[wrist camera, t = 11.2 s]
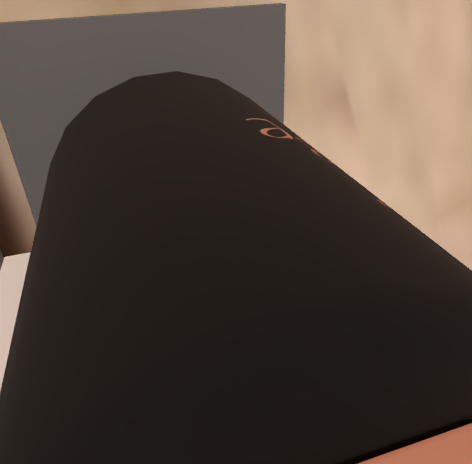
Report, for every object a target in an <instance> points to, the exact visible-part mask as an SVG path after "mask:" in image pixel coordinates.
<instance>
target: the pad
mask: <svg viewBox="0 0 472 464" xmlns="http://www.w3.org/2000/svg"><path fill="white" fill-rule="evenodd" d="M285 10H286V4H283V3H278V4H263V5H249V6H234V7H220V8H205V9H190V10H176V11H161V12H147V13H132V14H118V15H103V16H89V17H74V18H60V19H45V20H31V21H16V22H2V23H0V119H1V122H2V125H3V128H4V131H5V134H6V137H7V140H8V143H9V146H10V149H11V152H12V155H13V158H14V161H15V164H16V167H17V170H18V172H19V175H20V178H21V181H22V184H23V187H24V190H25V193H26V196H27V199H28V202H29V205H30V208H31V211H32V214H33V217H34V220H35V223H36V226H37V223H38V218H39V213H40V209H41V204H42V199H43V195H44V190H45V186H46V181H47V176H48V172H49V167H50V163H51V161H52V158H53V156H54V154H55V151H56V149H57V147H58V144H59V142H60V140H61V137H62V135H63V133H64V130H65V128H66V126H67V125H68V124H69V123H70V122H71V121H72V120H73V119H74V118H75V117H76V116H77V115H78V114H79V113H80V112H81V111H82V110H83V109H84V108H85V106H86V105H87V104H88V103H89V102H90V101H91V100H92V99H93V98H94V97H95V96H97V95H99V94H101V93H103V92H105V91H107V90H109V89H111V88H113V87H115V86H117V85H119V84H121V83H123V82H125V81H127V80H129V79H131V78H133V77H136V76H144V75H151V74H159V73H166V72H173V71H179V72H184V73H189V74H194V75H199V76H204V77H209V78H214V79H218V80H220V81H221V82H223V83H225V84H226V85H228V86H230V87H231V88H233V89H235V90H236V91H238V92H240V93H242V94H243V95H245V96H247V97H248V98H250V99H251V100H253V101H254V102H255V103H256V104H258V105H259V106H260V107H262V108H263V109H264V110H265V111H267V112H268V113H269V114H271V115H272V116H273V117H274V118H276V119H277V120H278V121H280V122H281V123H282V124H283V116H284V63H285Z"/></svg>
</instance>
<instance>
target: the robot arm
mask: <svg viewBox="0 0 472 464" xmlns="http://www.w3.org/2000/svg"><path fill="white" fill-rule="evenodd" d="M30 255H31V252H29V253H24V254H18V255H13V256H7V257H4V260H3V264H2V267H1V270H0V395H1V390H2V385H3V381H4V376H5V372H6V367H7V362H8V358H9V353H10V348H11V344H12V339H13V334H14V330H15V325H16V320H17V316H18V311H19V306H20V302H21V297H22V292H23V288H24V283H25V279H26V274H27V269H28V265H29V260H30Z"/></svg>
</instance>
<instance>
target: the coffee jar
mask: <svg viewBox="0 0 472 464" xmlns="http://www.w3.org/2000/svg"><path fill="white" fill-rule="evenodd" d="M0 464H472V271H471V270H470V269H469V268H467V267H466V266H465V265H464V264H462V263H461V262H460V261H458V260H457V259H456V258H455V257H453V256H452V255H451V254H449V253H448V252H447V251H446V250H444V249H443V248H442V247H440V246H439V245H438V244H437V243H435V242H434V241H433V240H431V239H430V238H429V237H428V236H426V235H425V234H424V233H422V232H421V231H420V230H419V229H417V228H416V227H415V226H413V225H412V224H411V223H410V222H408V221H407V220H406V219H404V218H403V217H402V216H401V215H399V214H398V213H397V212H395V211H394V210H393V209H392V208H390V207H389V206H388V205H386V204H385V203H384V202H383V201H381V200H380V199H379V198H377V197H376V196H375V195H374V194H372V193H371V192H370V191H368V190H367V189H366V188H365V187H363V186H362V185H361V184H359V183H358V182H357V181H356V180H354V179H353V178H352V177H350V176H349V175H348V174H346V173H345V172H344V171H343V170H341V169H340V168H339V167H337V166H336V165H335V164H334V163H332V162H331V161H330V160H328V159H327V158H326V157H325V156H323V155H322V154H321V153H319V152H318V151H317V150H316V149H314V148H313V147H312V146H310V145H309V144H308V143H307V142H305V141H304V140H303V139H301V138H300V137H299V136H298V135H296V134H295V133H294V132H292V131H291V130H290V129H289V128H287V127H286V126H285V125H283V124H282V123H281V122H280V121H278V120H277V119H276V118H274V117H273V116H272V115H271V114H269V113H268V112H267V111H265V110H264V109H263V108H262V107H260V106H259V105H258V104H256V103H255V102H254V101H253V100H251V99H250V98H248V97H247V96H245V95H243V94H242V93H240V92H238V91H236V90H235V89H233V88H231V87H230V86H228V85H226V84H225V83H223V82H221V81H220V80H218V79H214V78H209V77H204V76H199V75H194V74H189V73H184V72H179V71H173V72H166V73H159V74H151V75H144V76H136V77H133V78H131V79H129V80H127V81H125V82H123V83H121V84H119V85H117V86H115V87H113V88H111V89H109V90H107V91H105V92H103V93H101V94H99V95H97V96H95V97H94V98H93V99H92V100H91V101H90V102H89V103H88V104H87V105H86V106H85V108H84V109H83V110H82V111H81V112H80V113H79V114H78V115H77V116H76V117H75V118H74V119H73V120H72V121H71V122H70V123H69V124H68V125H67V126H66V128H65V130H64V133H63V135H62V137H61V140H60V142H59V144H58V147H57V149H56V151H55V154H54V156H53V158H52V161H51V163H50V167H49V172H48V176H47V181H46V186H45V190H44V195H43V199H42V204H41V209H40V213H39V218H38V223H37V227H36V232H35V237H34V241H33V246H32V251H31V255H30V260H29V265H28V269H27V274H26V279H25V283H24V288H23V292H22V297H21V302H20V306H19V311H18V316H17V320H16V325H15V330H14V334H13V339H12V344H11V348H10V353H9V358H8V362H7V367H6V372H5V376H4V381H3V385H2V390H1V395H0Z"/></svg>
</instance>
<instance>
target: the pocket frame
mask: <svg viewBox="0 0 472 464" xmlns="http://www.w3.org/2000/svg"><path fill="white" fill-rule="evenodd" d="M3 260H4V257H3V255H2V252H1V250H0V270H1V267H2V264H3Z"/></svg>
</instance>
